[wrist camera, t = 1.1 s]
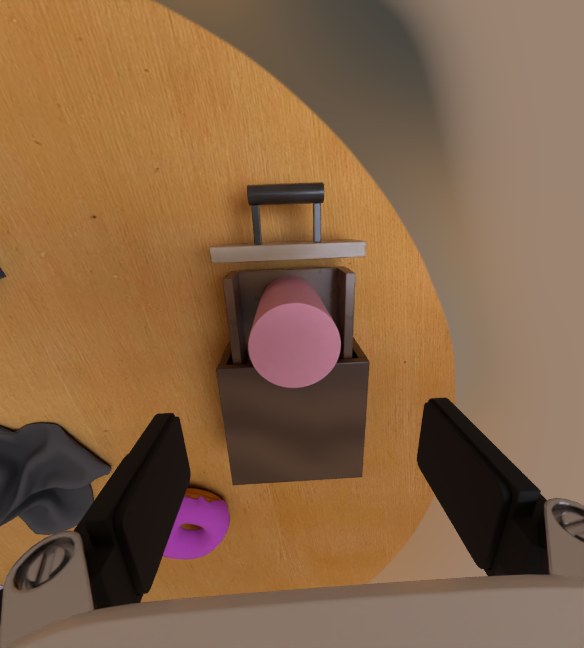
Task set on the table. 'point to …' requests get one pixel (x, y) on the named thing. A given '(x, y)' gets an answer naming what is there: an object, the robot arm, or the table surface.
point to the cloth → (45, 478)
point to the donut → (198, 525)
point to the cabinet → (294, 423)
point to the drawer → (249, 285)
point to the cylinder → (293, 335)
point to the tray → (2, 274)
